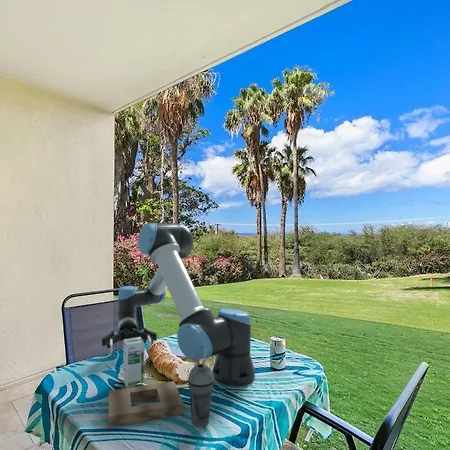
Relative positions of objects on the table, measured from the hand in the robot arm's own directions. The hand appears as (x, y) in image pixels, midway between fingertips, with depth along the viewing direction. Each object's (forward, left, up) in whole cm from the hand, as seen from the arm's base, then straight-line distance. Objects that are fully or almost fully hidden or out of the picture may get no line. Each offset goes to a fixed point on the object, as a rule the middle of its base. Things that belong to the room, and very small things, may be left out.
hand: (131, 347), depth 120 cm
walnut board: (-16, +19, -9) cm, 27 cm away
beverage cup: (-34, +21, -9) cm, 41 cm away
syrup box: (-5, +7, -9) cm, 13 cm away
